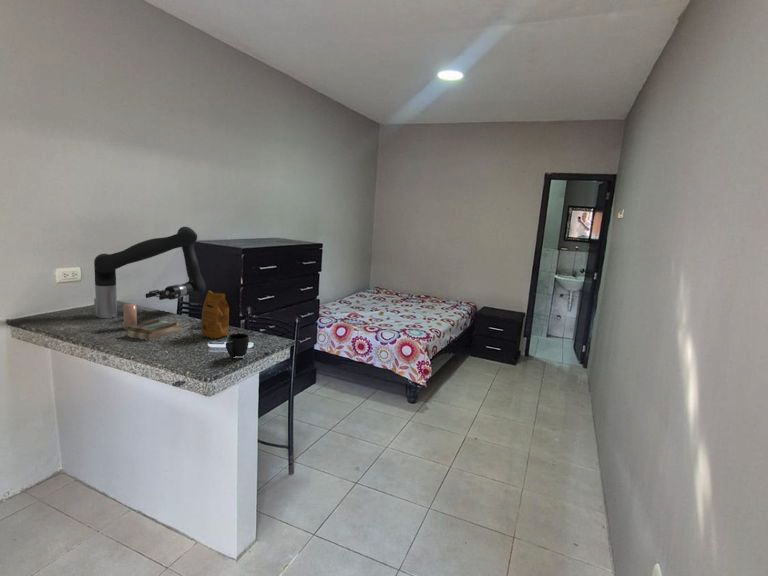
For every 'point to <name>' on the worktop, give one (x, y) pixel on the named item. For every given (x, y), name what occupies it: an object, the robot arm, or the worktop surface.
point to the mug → (237, 344)
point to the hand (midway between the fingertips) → (152, 296)
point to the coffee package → (215, 316)
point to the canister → (130, 315)
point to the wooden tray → (152, 329)
